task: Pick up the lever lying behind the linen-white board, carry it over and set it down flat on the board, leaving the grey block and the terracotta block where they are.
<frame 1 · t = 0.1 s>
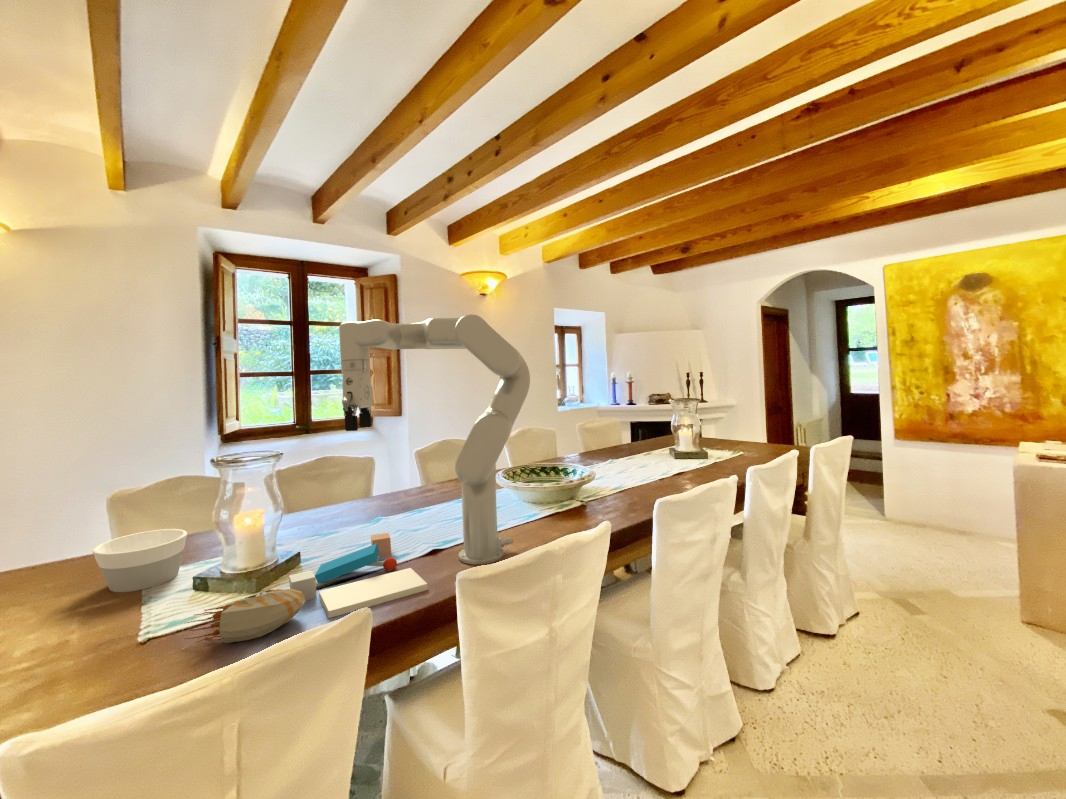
hand: (358, 428, 133), 37 cm above the table, fingers open, 9 cm apart
nautilus: (247, 633, 97), on the table
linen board: (373, 593, 113), on the table
terracotta block: (381, 553, 139), on the table
lever: (358, 575, 125), on the table
bowl: (145, 581, 125), on the table
grey block: (303, 596, 113), on the table
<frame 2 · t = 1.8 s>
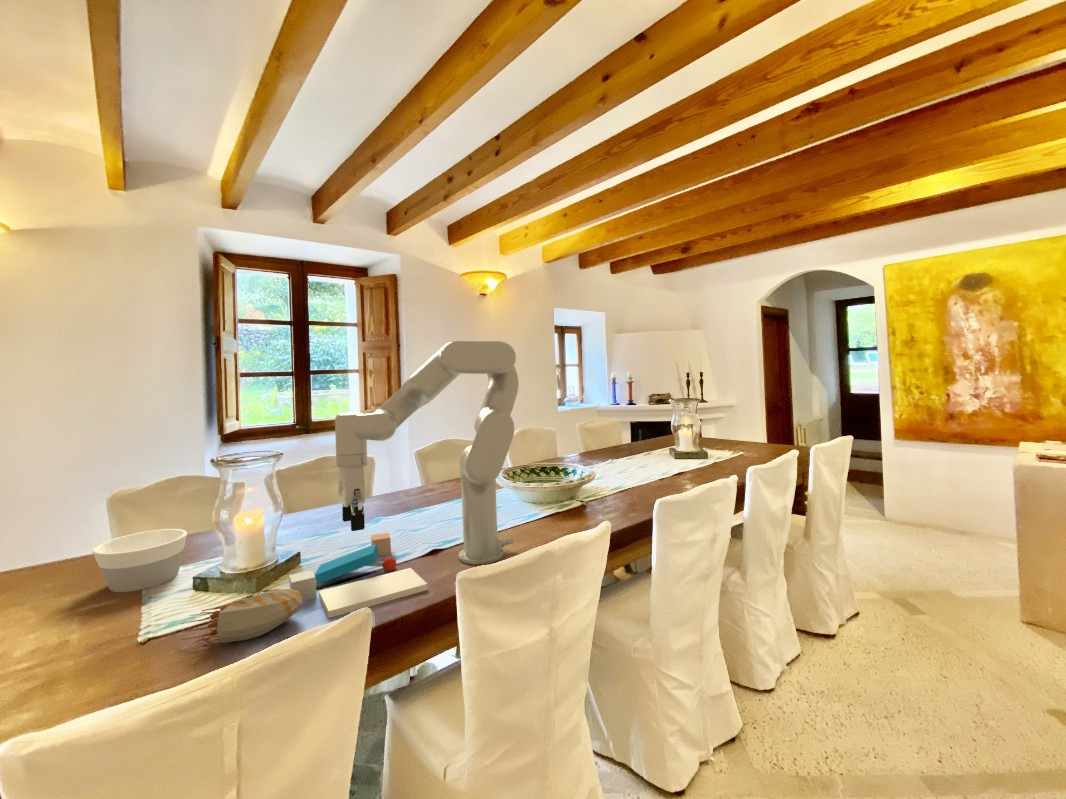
hand: (353, 525, 124), 13 cm above the table, fingers open, 9 cm apart
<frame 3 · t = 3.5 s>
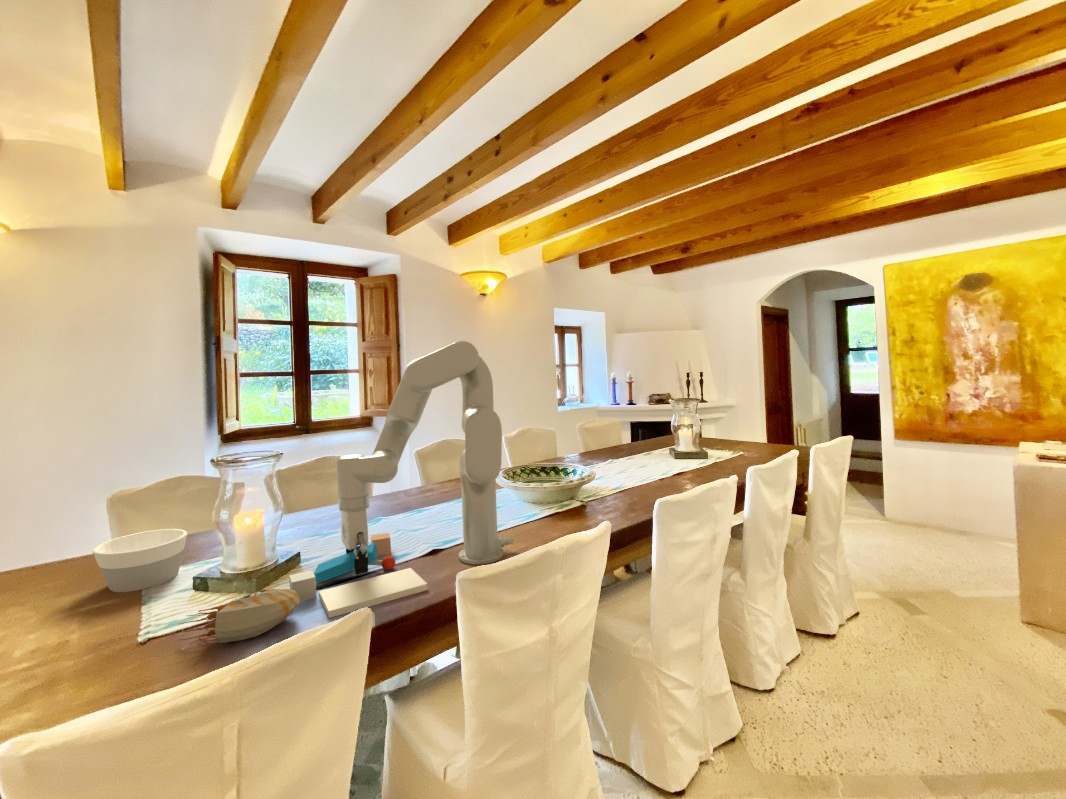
hand: (357, 567, 125), 2 cm above the table, fingers closed on lever, 8 cm apart
lever: (356, 574, 125), on the table, touching gripper
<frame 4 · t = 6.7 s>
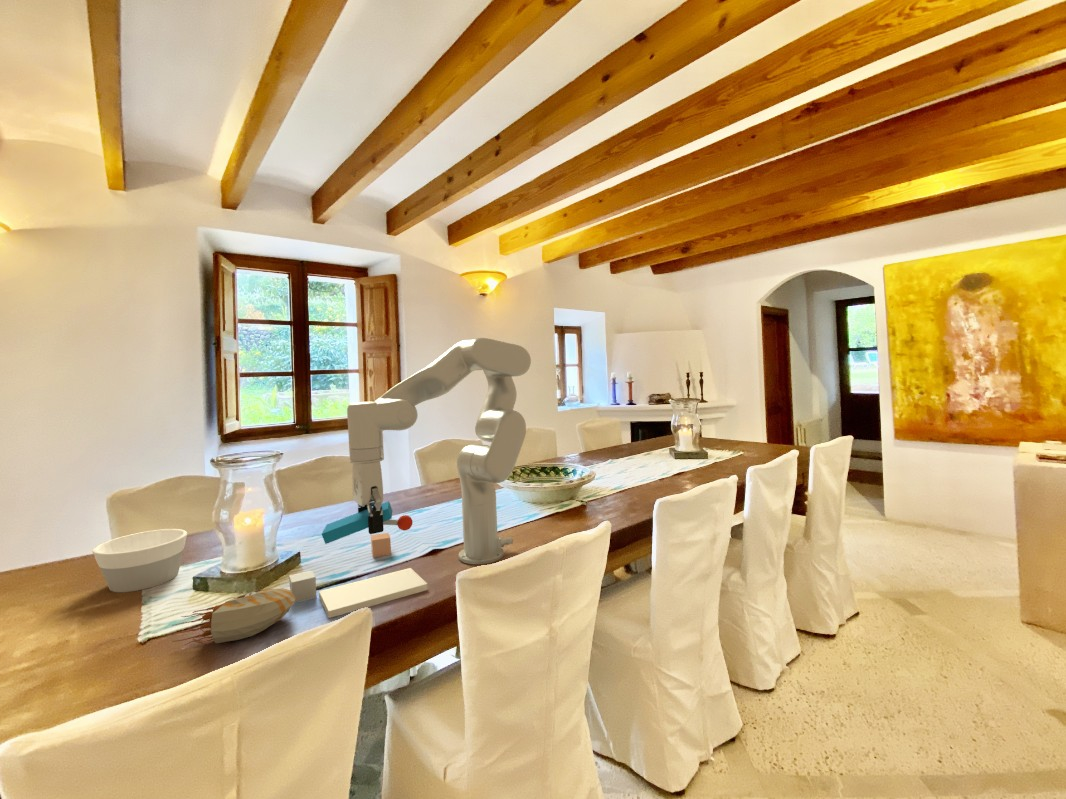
hand: (370, 527, 112), 16 cm above the table, fingers closed on lever, 8 cm apart
nautilus: (237, 634, 97), on the table
lever: (369, 535, 112), point 14 cm above the table, touching gripper
everything else where it was.
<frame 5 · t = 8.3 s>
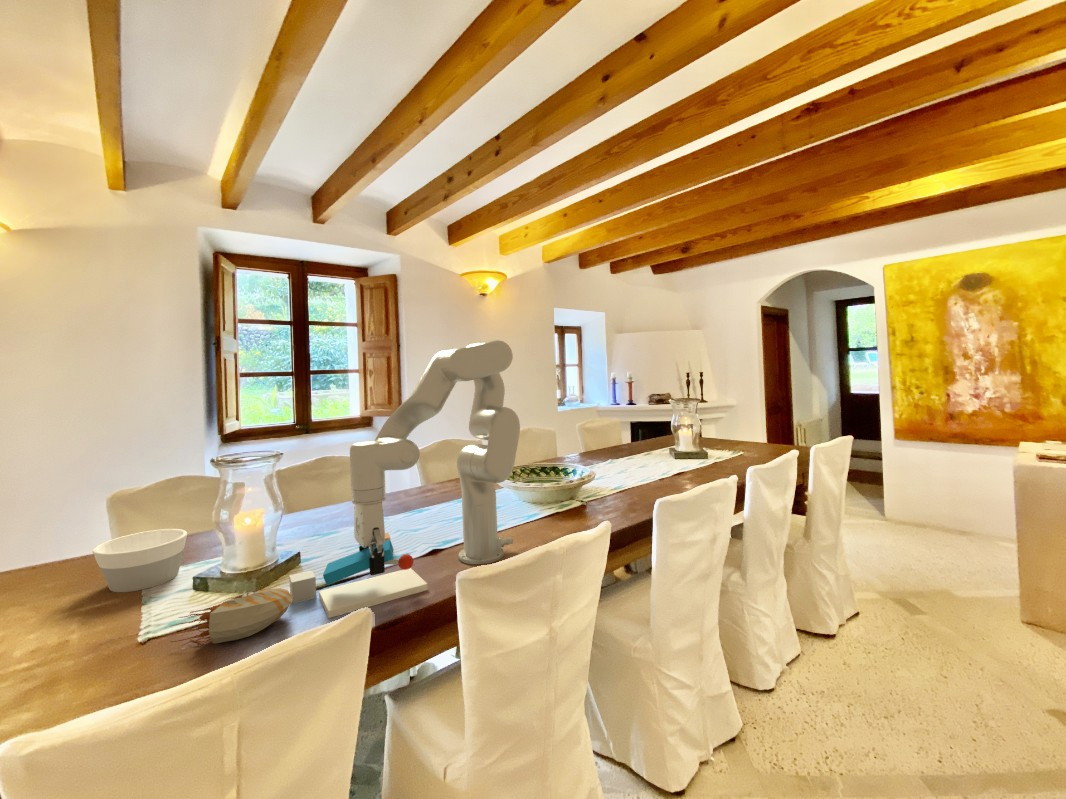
hand: (371, 567, 112), 6 cm above the table, fingers closed on lever, 8 cm apart
lever: (370, 574, 112), point 5 cm above the table, touching gripper
when the fingers open (4 cm above the table, at t = 9.9 s): lever drops 1 cm, resting on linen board.
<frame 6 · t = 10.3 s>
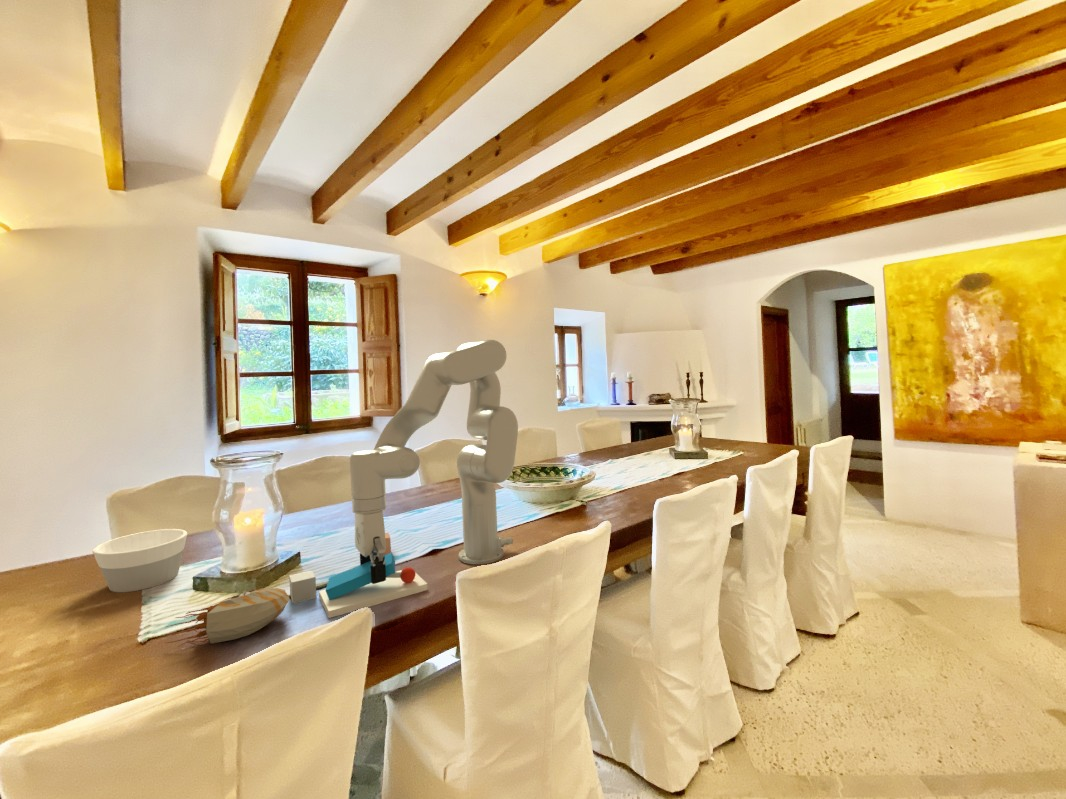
hand: (372, 574, 112), 4 cm above the table, fingers open, 9 cm apart
lever: (373, 588, 113), point 1 cm above the table, touching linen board
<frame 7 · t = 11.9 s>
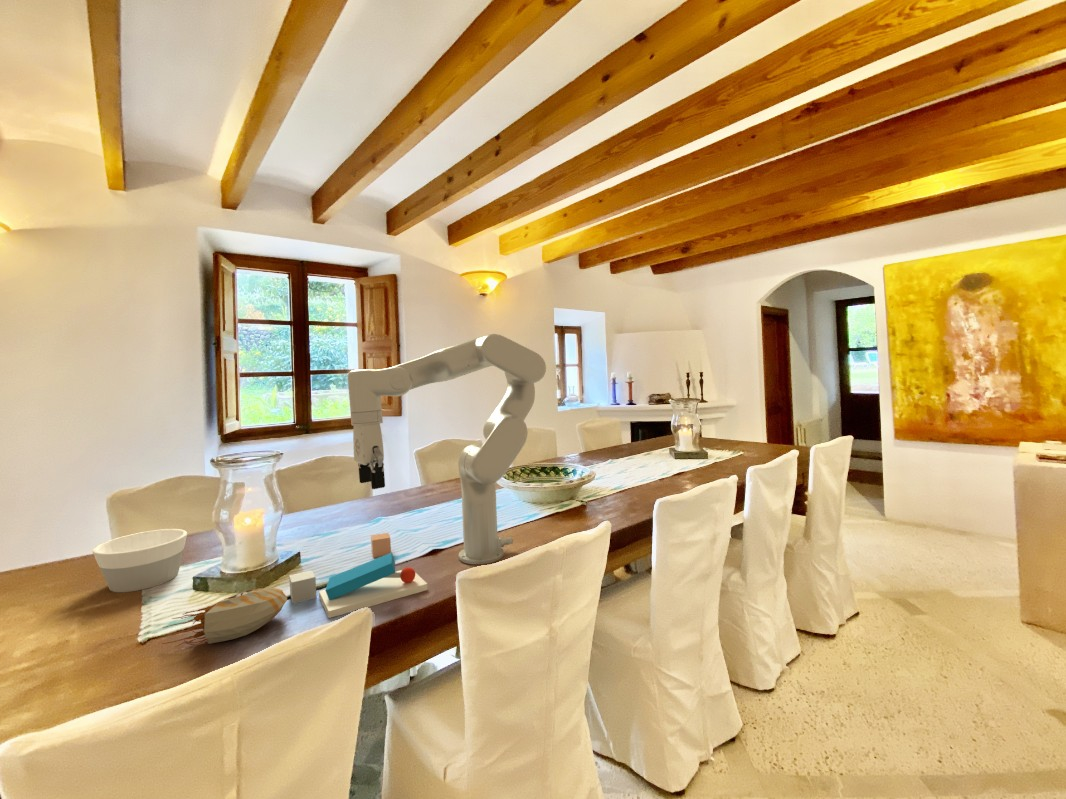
hand: (372, 485, 121), 24 cm above the table, fingers open, 9 cm apart
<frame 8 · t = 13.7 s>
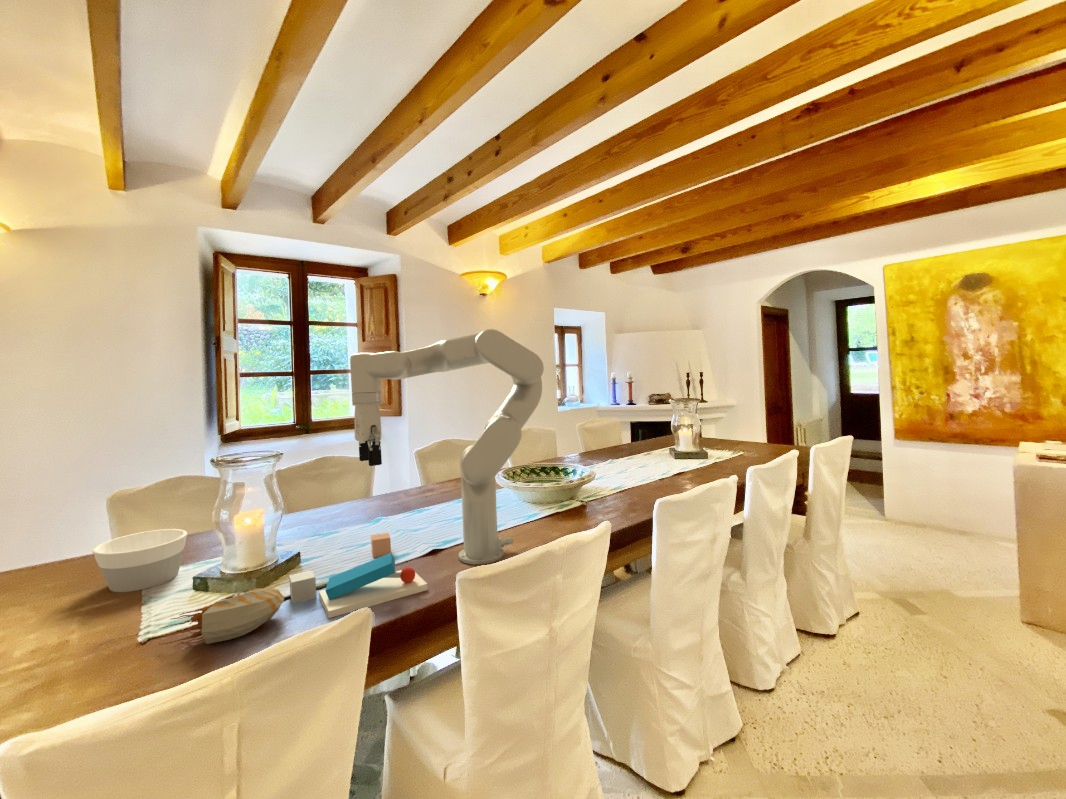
hand: (370, 462, 128), 28 cm above the table, fingers open, 9 cm apart
at the end: lever inside the target area on the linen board (0.2 cm from its centre), point 1.3 cm above the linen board's base; grey block moved 0.1 cm from its start; terracotta block moved 0.1 cm from its start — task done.
